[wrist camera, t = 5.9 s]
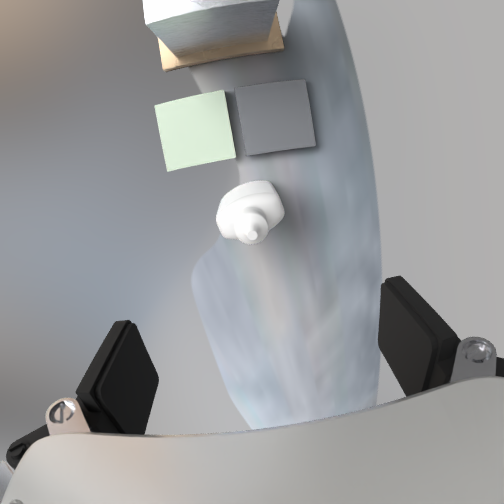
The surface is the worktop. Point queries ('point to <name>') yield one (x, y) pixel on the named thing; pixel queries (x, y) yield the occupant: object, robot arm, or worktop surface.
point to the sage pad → (195, 130)
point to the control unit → (212, 29)
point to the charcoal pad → (275, 116)
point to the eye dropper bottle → (249, 212)
